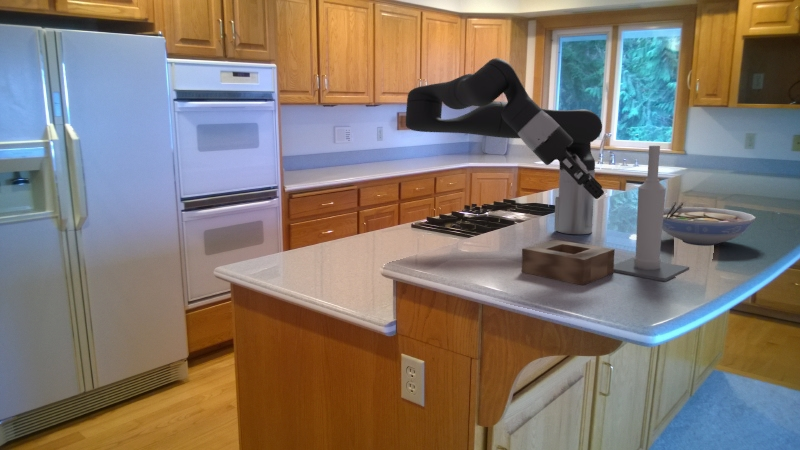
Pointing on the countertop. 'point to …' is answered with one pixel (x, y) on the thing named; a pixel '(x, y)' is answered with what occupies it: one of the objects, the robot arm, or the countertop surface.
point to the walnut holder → (568, 261)
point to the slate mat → (660, 274)
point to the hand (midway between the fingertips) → (599, 193)
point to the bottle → (650, 216)
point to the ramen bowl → (704, 224)
